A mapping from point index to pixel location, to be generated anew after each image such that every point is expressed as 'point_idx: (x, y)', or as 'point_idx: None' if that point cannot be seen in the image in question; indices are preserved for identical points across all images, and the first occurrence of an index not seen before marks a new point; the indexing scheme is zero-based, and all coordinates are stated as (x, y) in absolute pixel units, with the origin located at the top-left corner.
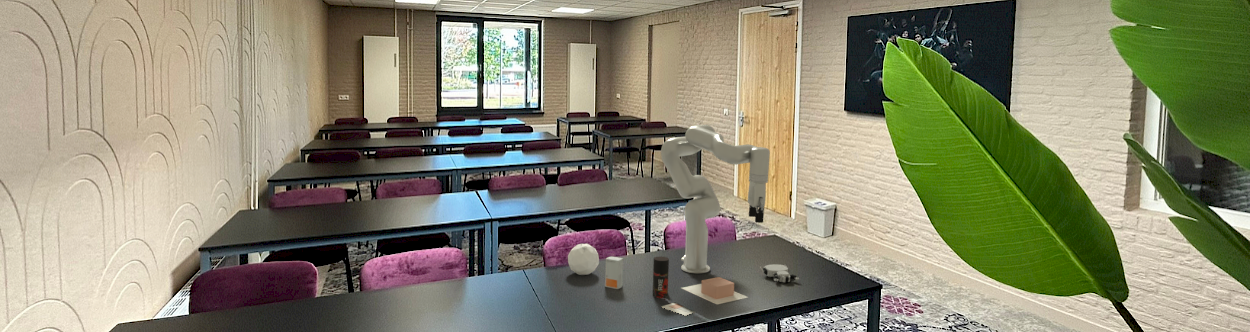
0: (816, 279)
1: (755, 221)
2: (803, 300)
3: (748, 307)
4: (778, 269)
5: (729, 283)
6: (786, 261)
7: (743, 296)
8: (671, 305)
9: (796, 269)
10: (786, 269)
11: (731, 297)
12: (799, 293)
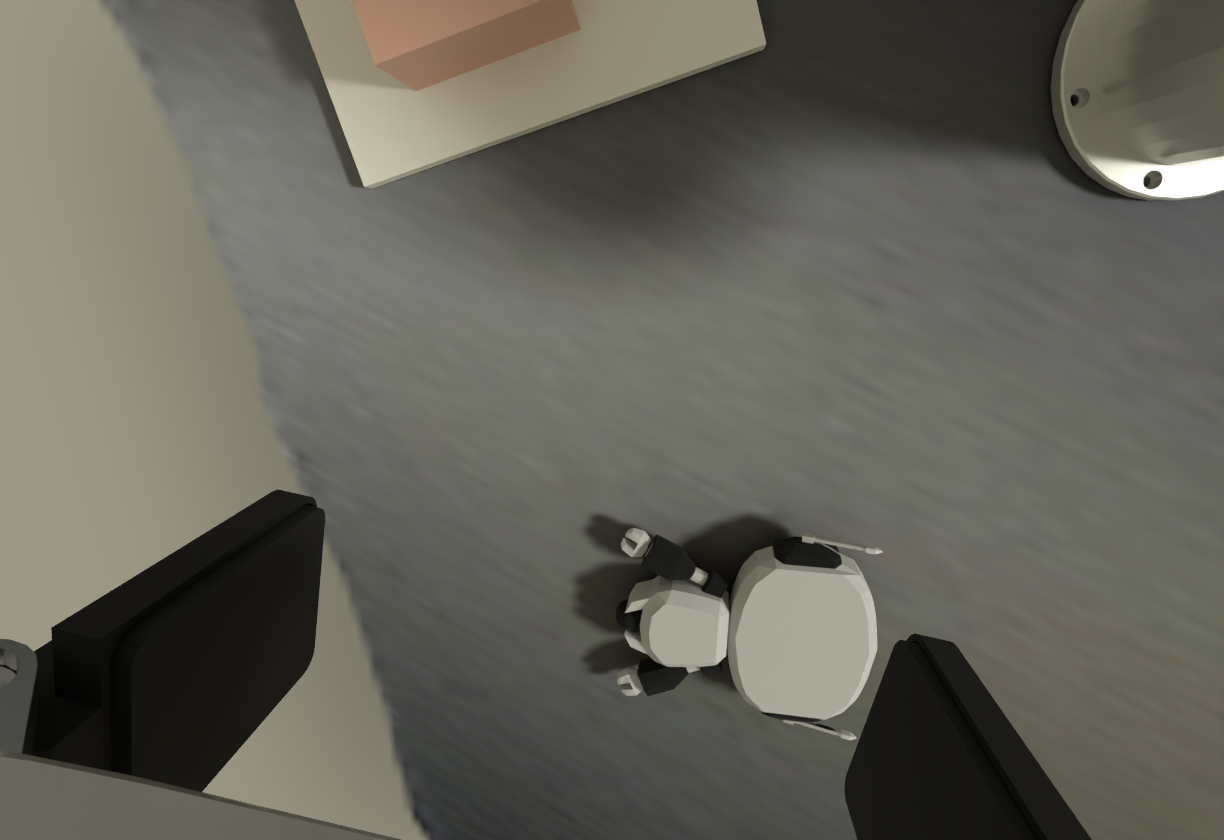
0: (663, 800)
1: (271, 497)
2: None
3: (229, 119)
4: (760, 639)
5: (369, 12)
6: None
7: (384, 157)
8: None
9: None
10: (745, 690)
11: None
12: (441, 576)
